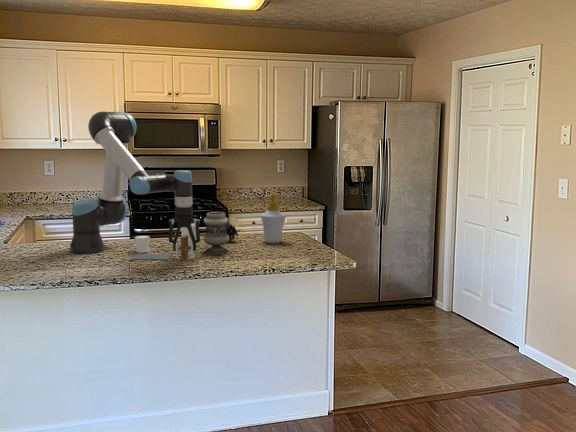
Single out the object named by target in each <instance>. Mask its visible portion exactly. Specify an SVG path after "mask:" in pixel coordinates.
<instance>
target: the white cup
mask: <svg viewBox="0 0 576 432" xmlns="http://www.w3.org/2000/svg"><path fill="white" fill-rule="evenodd" d="M150 239H151V238H150V235H137V236H134V242H135V250H136V253H137V254H146V253H149V252H150ZM145 252H146V253H145Z"/></svg>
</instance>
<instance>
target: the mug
mask: <svg viewBox="0 0 576 432" xmlns="http://www.w3.org/2000/svg"><path fill="white" fill-rule="evenodd" d="M195 225H196V224H194V222H192V224H191V227H192V231H193V234H194V237H195V240H197V239H196V228H195ZM180 232H181V236H180V237H182V236H183V235H188V248H191V244H192V240H191V237H190V234H189V231H188V229H187V228H186V227H182V228H181V229H180ZM175 234H176V232H174V235H175ZM177 243H178V244H181V239H180V238H178V239H177ZM199 245H200V242H199V243H196V247H198V246H199Z"/></svg>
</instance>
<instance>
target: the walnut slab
mask: <svg viewBox="0 0 576 432" xmlns="http://www.w3.org/2000/svg"><path fill="white" fill-rule="evenodd" d="M180 240H181V243H180V261H187V260H188V259H189V247H188V235H183V236H180Z"/></svg>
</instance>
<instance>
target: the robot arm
mask: <svg viewBox="0 0 576 432" xmlns="http://www.w3.org/2000/svg"><path fill="white" fill-rule="evenodd" d="M87 126H88V132H89V135H90V138H92V140H93V141H94V142H95V143H96V144H97V145H101V147H102V148H103V149H104V151H105V160H104V170H103V171H104V172H103V182H102V192H100V194H98V196H97V197H98V198H97V199H95V198H94V199H93V198H88V199H82V200H78V201H76V202H74V203H73V205H72V206H71V207H72V208H71V215H72V231H73V232H72V239H71V242H70V246H69V252H70V253H72V254H81V255H84V254H86V255H87V254H94V253H95V254H96V253H100V252H103V251H105V243H104V241H103V239H102V235H101V231H100V230H101V228H100V227H102V226H103V227H104V226H109V225H116V224H118V223H119V224H120V223H122V222H123V221H124V220H126V218H127V215H128V212H129V211H128V209H129V207H128V205H127V203H126V200H124V199H125V198H124V196H123V195H122V187H123V177H124V175H125V177H126V178H127V179H128V180H129V188H130V191H131V192H132V193H133V194H135V195H147V194H153V193H163V192H170V193H171V192H173V193H174V205H175V207H174V213H175V214H174V218H172V219H169V220H168V221H167V223H168V225H169V228H168V229H169V230H168V231H169V232H168V242H169V243H171V244H172V245H173V246H172V248H173V251H174V252H175V259H176V260H178V259H179V258H180V254H179V249H180V248H179V247H180V245H179V244H180V243H178V242H177V239H179V235H180V232H181V231H180V229H181V228H182V227H186V228H187V229H188V231H189V234H190V237H191V240H192V244H191V247H190V256H191V257H190V259H191V260H192V259H195V252H196V251H197V246H196V243H199V244H200V241H201V234H200V222H201V220H200V219H196V218H194V212H193V210H194V209H193V202H194V201H193V175H192V174H193V173H192V171H191V170H186V169H185V170H181V169H178V170H175V171H174V172H173V173H174V174H167V173H156V174H155V175H154V174H152V175H149V174H148V173H147V172H146V170H145V169H144V168H143V167H142V165H141V164H140V163H139V162H138V161H137V160H136V158H135V157H134V156H133V154H132V153H130V151H129V150H128V148H127V146H128V145H129V144H130V143H131V138H133V137H134V136H136V134H137V122H136V120H135V118H134V117H133V116H132V114H130V113H129V112H122V111H98V112H95V113H94V114H93V115H92V116H91V117H90V119H89V120H88V125H87ZM192 223H194V224H196V225H195V228H196V239H197V240H195V237H194V234H193V231H192V227H191V224H192ZM174 224H176V225H177V227H176V231H175V233H176V234H175V233H174Z"/></svg>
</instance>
